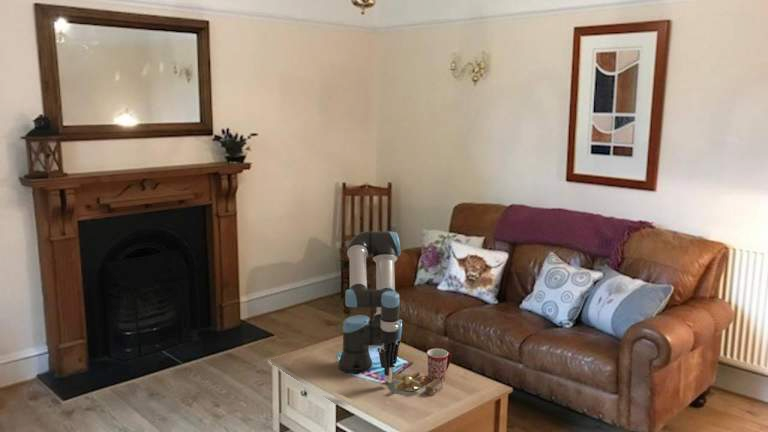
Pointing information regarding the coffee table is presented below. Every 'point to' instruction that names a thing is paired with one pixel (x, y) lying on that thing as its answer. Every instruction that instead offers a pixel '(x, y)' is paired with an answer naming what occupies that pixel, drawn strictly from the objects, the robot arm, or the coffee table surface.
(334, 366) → the coffee table surface
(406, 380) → the cam capstan
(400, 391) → the stand plate
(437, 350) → the mug
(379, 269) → the robot arm
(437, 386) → the brown angular block
